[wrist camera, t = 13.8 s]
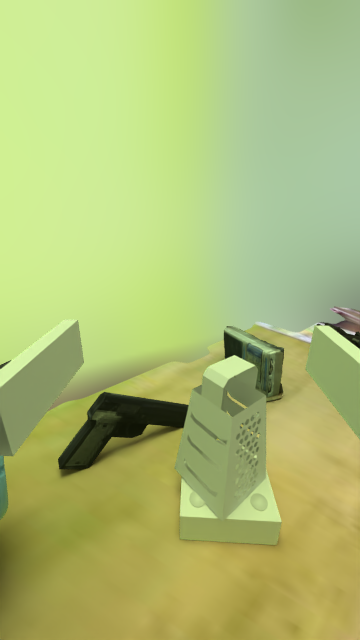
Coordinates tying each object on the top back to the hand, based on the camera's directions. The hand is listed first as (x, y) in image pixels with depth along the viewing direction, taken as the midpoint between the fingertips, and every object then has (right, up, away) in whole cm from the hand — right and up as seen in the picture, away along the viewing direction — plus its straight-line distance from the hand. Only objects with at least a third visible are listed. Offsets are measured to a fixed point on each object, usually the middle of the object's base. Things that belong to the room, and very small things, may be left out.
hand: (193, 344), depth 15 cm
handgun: (-11, -25, +40) cm, 48 cm away
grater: (+6, -24, +28) cm, 37 cm away
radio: (+19, -17, +62) cm, 67 cm away
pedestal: (+7, -29, +30) cm, 42 cm away
